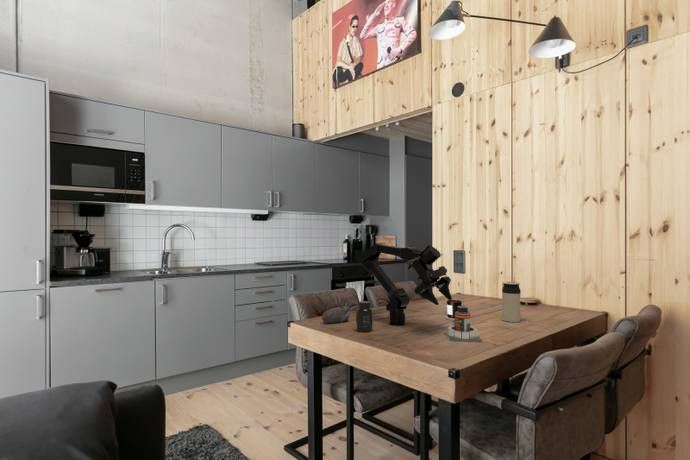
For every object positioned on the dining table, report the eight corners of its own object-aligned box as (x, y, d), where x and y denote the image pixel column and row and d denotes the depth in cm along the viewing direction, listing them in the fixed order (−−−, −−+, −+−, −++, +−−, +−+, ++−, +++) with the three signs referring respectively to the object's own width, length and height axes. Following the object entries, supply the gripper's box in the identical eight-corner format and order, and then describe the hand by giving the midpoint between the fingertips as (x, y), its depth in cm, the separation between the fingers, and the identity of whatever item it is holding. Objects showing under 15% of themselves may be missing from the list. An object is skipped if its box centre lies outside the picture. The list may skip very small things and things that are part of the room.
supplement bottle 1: (374, 329, 175) (374, 301, 175) (370, 333, 168) (370, 303, 168) (359, 328, 177) (359, 300, 177) (354, 331, 170) (354, 302, 170)
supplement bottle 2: (451, 334, 163) (451, 306, 163) (461, 332, 167) (461, 304, 167) (463, 337, 158) (463, 308, 158) (473, 335, 162) (473, 307, 162)
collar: (449, 341, 157) (449, 332, 157) (444, 333, 169) (444, 324, 169) (481, 341, 156) (482, 332, 156) (474, 333, 168) (474, 325, 168)
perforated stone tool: (324, 325, 181) (324, 309, 181) (319, 323, 186) (319, 307, 186) (353, 321, 189) (353, 306, 189) (347, 319, 194) (347, 304, 194)
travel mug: (501, 321, 191) (502, 282, 191) (502, 318, 198) (502, 280, 198) (520, 323, 188) (520, 283, 188) (520, 319, 195) (520, 281, 195)
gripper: (420, 263, 165) (443, 295, 158) (447, 257, 177) (469, 287, 170) (405, 279, 171) (426, 311, 165) (432, 272, 184) (453, 301, 177)
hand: (444, 302), depth 169 cm, fingers open, 9 cm apart
